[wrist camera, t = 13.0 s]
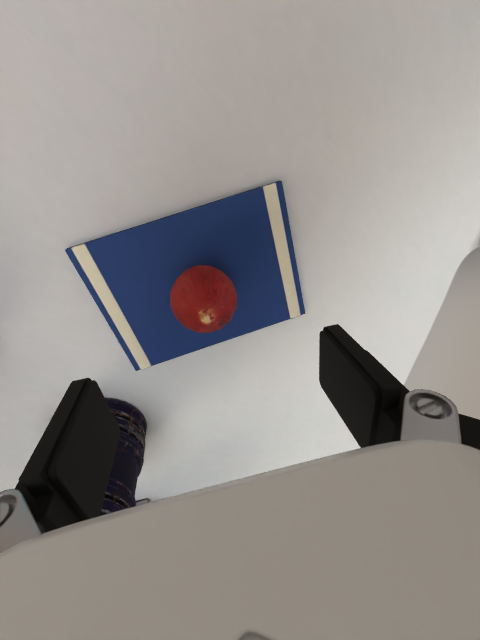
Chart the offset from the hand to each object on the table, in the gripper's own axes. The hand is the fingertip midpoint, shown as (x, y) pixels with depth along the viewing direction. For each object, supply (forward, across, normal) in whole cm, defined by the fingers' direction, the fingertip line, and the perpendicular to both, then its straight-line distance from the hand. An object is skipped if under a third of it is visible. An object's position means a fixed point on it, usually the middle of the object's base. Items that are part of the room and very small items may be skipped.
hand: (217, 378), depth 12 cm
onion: (+17, 0, +2) cm, 18 cm away
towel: (+18, 0, +2) cm, 18 cm away
